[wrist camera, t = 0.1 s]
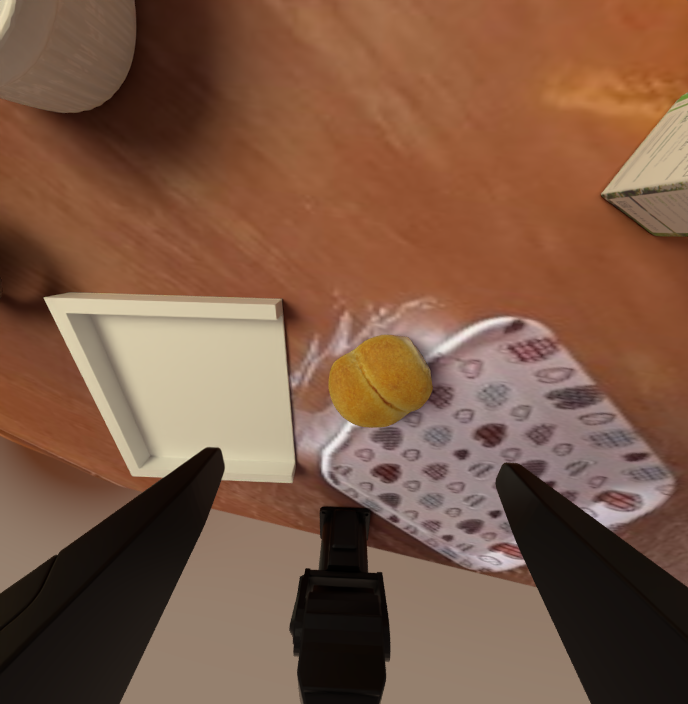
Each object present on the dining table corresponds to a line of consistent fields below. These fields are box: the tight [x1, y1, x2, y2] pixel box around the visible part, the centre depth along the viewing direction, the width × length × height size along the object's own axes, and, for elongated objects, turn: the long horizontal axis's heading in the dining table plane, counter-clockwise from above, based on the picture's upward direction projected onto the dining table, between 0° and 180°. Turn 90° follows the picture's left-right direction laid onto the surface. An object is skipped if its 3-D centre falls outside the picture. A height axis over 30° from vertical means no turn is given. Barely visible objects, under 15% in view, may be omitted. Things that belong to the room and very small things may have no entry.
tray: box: [43, 292, 296, 483], centre depth 24 cm, size 20×18×2 cm
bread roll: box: [329, 335, 433, 428], centre depth 21 cm, size 8×9×4 cm
